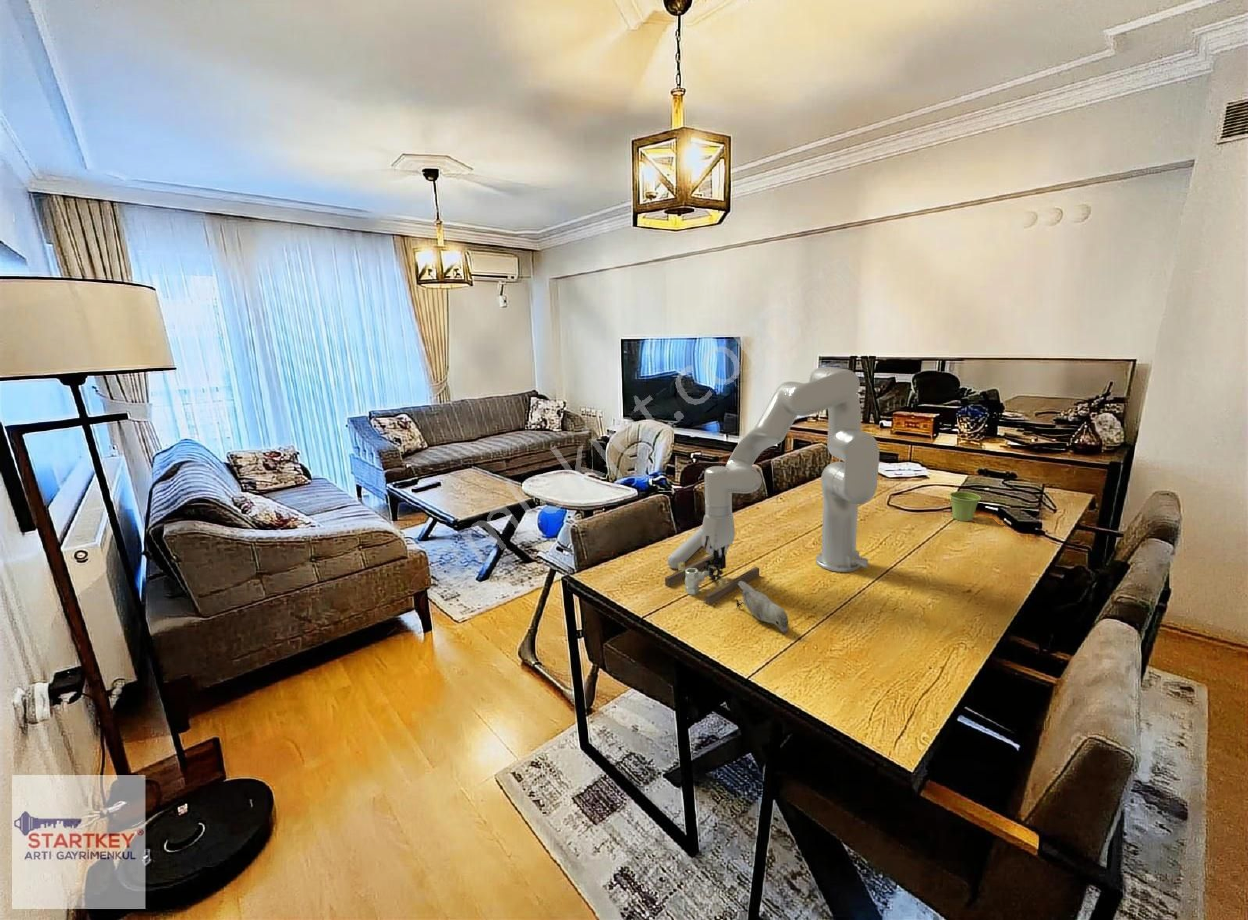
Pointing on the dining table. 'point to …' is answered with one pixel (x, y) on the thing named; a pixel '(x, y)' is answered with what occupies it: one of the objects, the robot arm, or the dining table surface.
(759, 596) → the decorative bird
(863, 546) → the dining table surface
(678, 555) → the tube
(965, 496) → the plant pot
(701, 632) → the dining table surface
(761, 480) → the robot arm
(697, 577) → the valve
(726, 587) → the guide track
